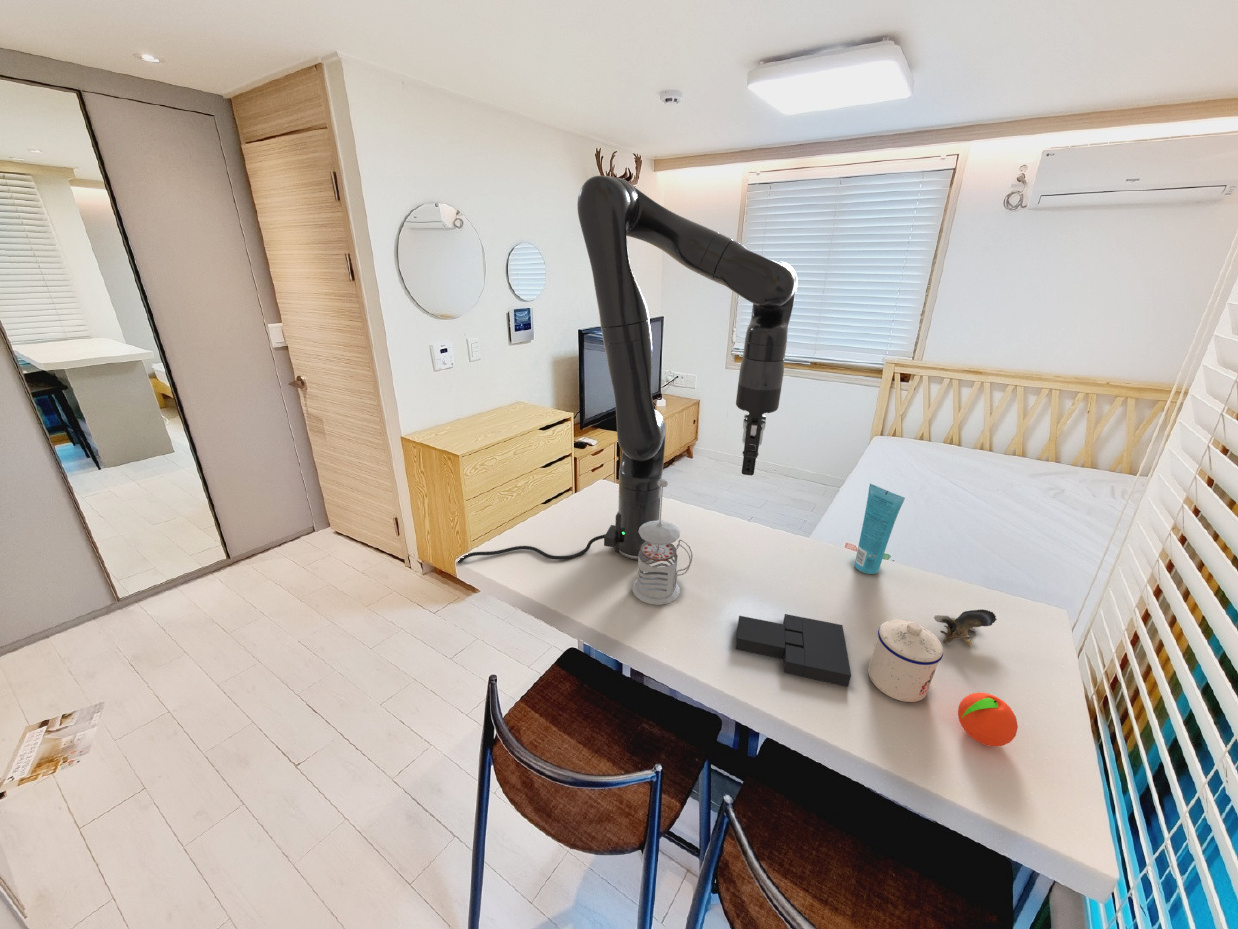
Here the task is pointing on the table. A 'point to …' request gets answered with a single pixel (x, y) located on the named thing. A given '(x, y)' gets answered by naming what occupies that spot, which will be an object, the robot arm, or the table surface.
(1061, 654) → the table surface
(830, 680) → the large pad
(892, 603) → the table surface
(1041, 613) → the table surface
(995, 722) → the clementine
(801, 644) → the small pad
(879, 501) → the tube
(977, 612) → the eagle figurine
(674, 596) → the french press
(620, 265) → the robot arm
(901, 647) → the teacup with lid
